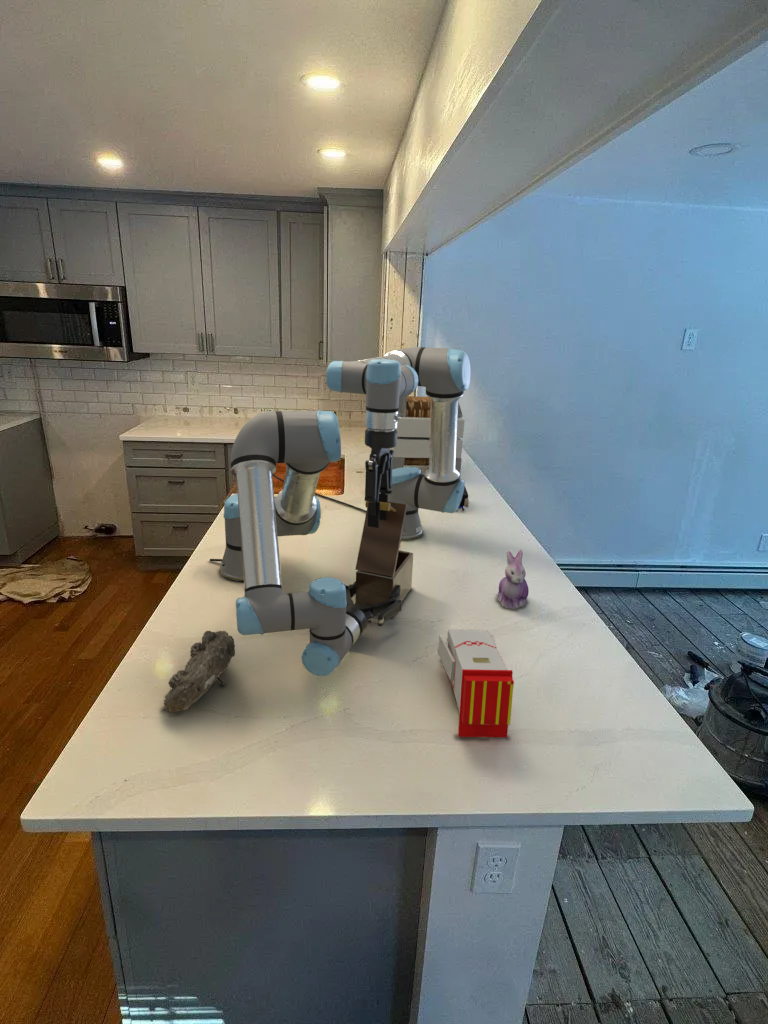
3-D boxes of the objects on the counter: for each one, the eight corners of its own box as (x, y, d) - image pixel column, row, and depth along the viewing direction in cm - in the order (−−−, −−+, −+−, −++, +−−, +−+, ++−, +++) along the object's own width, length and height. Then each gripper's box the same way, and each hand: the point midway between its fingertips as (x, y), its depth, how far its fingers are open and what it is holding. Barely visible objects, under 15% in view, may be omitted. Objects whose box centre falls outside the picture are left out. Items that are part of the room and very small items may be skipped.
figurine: (511, 613, 150) (518, 561, 145) (487, 596, 158) (493, 547, 153) (538, 606, 154) (546, 556, 149) (513, 590, 163) (520, 542, 157)
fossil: (188, 633, 127) (235, 602, 122) (218, 661, 130) (265, 632, 125) (141, 705, 107) (195, 672, 102) (177, 737, 110) (232, 706, 105)
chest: (378, 581, 164) (379, 546, 160) (411, 588, 161) (413, 552, 157) (354, 609, 149) (355, 572, 145) (391, 617, 146) (393, 579, 142)
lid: (370, 499, 147) (359, 493, 138) (407, 505, 144) (398, 499, 135) (356, 569, 145) (344, 568, 137) (394, 577, 142) (384, 575, 134)
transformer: (382, 463, 289) (386, 382, 275) (445, 464, 293) (451, 384, 279) (390, 482, 257) (394, 392, 243) (460, 483, 261) (468, 394, 247)
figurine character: (468, 516, 224) (463, 500, 237) (471, 498, 221) (465, 483, 234) (452, 515, 224) (447, 499, 237) (453, 498, 220) (449, 482, 234)
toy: (488, 613, 130) (523, 677, 101) (484, 667, 133) (517, 744, 104) (435, 612, 130) (455, 676, 101) (432, 666, 133) (451, 743, 103)
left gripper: (301, 630, 133) (339, 590, 153) (392, 652, 127) (419, 607, 146) (300, 602, 131) (339, 565, 151) (393, 623, 124) (421, 581, 144)
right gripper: (383, 438, 122) (379, 538, 130) (408, 424, 138) (403, 513, 146) (351, 434, 124) (349, 532, 132) (379, 420, 140) (375, 509, 148)
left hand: (379, 586), depth 149 cm, fingers closed on chest, 10 cm apart
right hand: (377, 522), depth 139 cm, fingers open, 5 cm apart
